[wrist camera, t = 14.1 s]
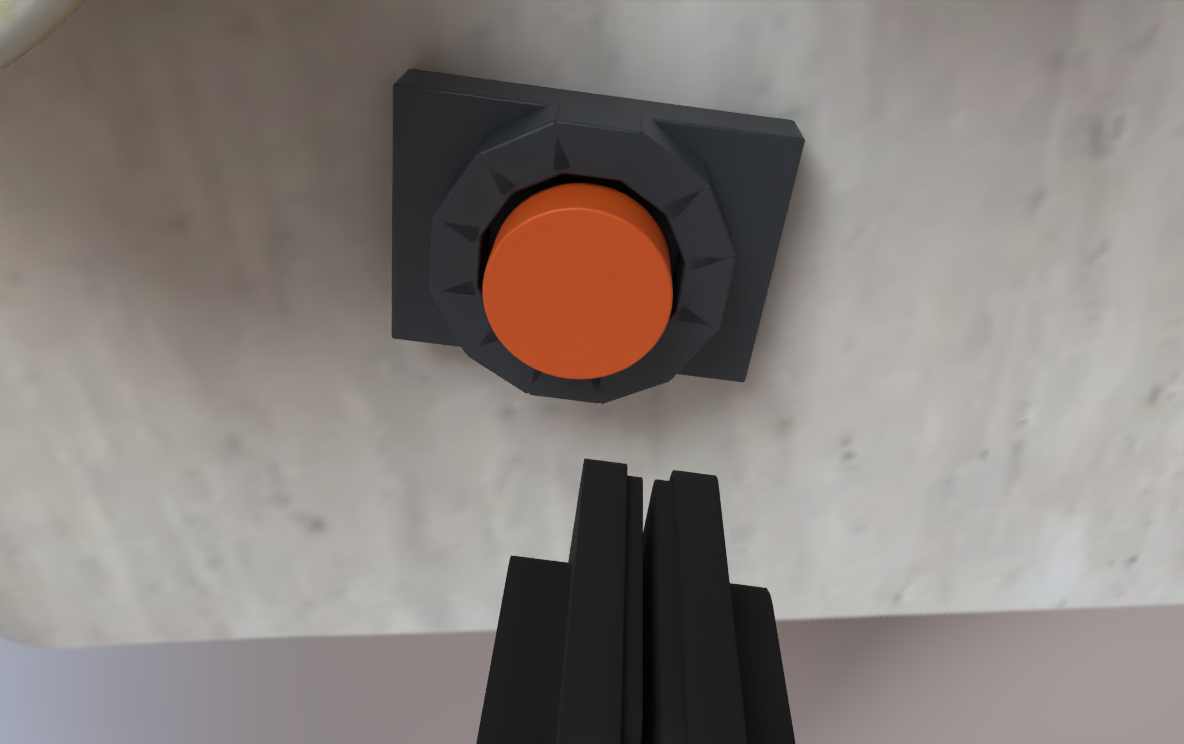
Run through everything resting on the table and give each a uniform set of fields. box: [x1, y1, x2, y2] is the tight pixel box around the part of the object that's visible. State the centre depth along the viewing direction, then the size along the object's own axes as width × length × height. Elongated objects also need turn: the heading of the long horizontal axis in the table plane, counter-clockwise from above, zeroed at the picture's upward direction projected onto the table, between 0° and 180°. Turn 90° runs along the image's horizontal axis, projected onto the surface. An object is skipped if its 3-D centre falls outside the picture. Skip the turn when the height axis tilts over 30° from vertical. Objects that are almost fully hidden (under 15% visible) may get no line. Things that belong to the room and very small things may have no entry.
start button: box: [483, 183, 673, 379], centre depth 21 cm, size 4×4×2 cm
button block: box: [392, 69, 805, 404], centre depth 23 cm, size 10×7×4 cm
